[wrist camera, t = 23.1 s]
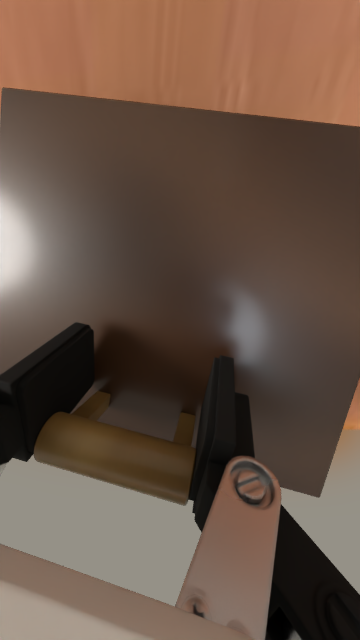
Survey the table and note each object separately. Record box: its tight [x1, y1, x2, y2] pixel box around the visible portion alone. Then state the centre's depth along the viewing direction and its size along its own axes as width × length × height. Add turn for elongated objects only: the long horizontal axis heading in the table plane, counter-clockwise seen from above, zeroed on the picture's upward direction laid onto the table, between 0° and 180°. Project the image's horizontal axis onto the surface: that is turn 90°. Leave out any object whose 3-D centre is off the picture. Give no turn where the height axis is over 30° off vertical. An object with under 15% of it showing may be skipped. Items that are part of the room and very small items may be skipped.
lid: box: [0, 87, 360, 506], centre depth 9 cm, size 14×17×5 cm
